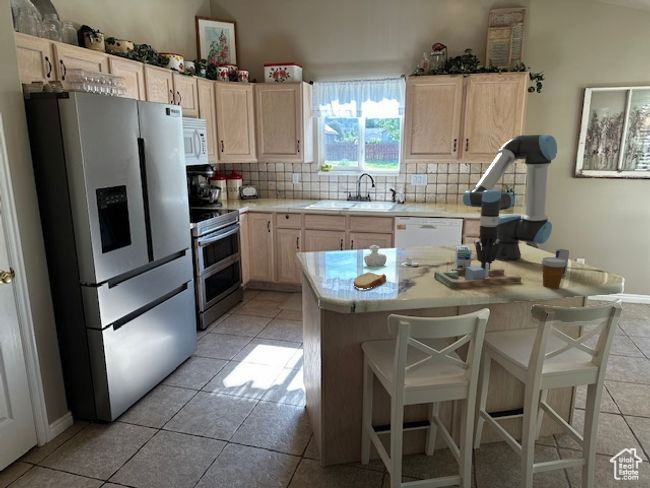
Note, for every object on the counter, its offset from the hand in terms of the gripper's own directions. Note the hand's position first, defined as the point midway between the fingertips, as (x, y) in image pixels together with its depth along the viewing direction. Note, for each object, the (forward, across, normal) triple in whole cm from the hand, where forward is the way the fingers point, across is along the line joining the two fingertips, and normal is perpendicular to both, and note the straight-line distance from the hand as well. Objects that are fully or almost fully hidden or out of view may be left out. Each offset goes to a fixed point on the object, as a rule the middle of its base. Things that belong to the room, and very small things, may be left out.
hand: (484, 276), depth 197 cm
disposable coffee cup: (+2, +23, -15) cm, 27 cm away
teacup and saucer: (+3, -24, +31) cm, 39 cm away
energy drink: (+2, +39, -2) cm, 39 cm away
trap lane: (+2, -3, +3) cm, 5 cm away
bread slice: (+2, -51, +10) cm, 52 cm away
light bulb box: (+2, +1, +20) cm, 20 cm away
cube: (+2, -5, 0) cm, 5 cm away
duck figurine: (+2, -39, +37) cm, 54 cm away
